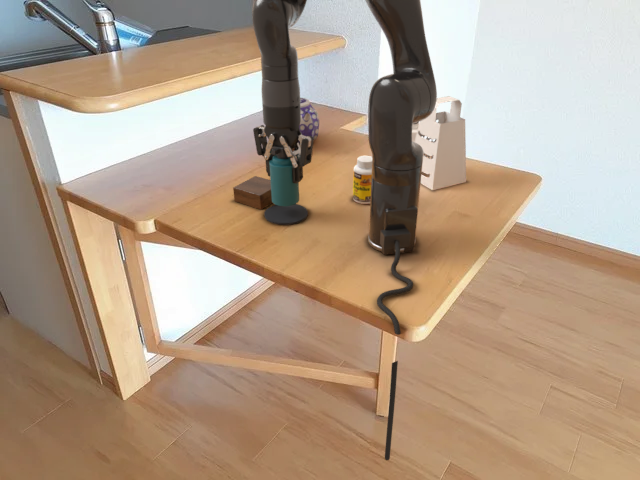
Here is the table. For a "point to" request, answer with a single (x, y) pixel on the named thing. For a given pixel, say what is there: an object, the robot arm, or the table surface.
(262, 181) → the walnut block
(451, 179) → the grater
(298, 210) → the coaster
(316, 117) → the teapot
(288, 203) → the spray bottle
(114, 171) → the table surface
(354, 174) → the supplement bottle
